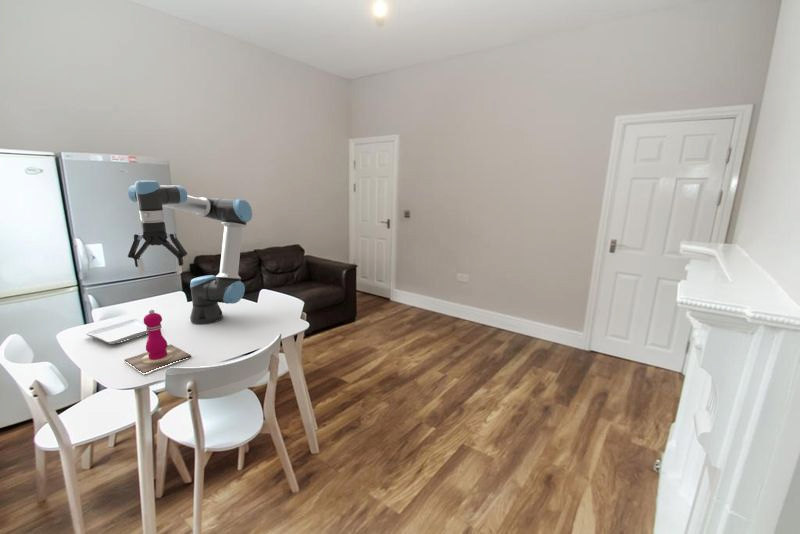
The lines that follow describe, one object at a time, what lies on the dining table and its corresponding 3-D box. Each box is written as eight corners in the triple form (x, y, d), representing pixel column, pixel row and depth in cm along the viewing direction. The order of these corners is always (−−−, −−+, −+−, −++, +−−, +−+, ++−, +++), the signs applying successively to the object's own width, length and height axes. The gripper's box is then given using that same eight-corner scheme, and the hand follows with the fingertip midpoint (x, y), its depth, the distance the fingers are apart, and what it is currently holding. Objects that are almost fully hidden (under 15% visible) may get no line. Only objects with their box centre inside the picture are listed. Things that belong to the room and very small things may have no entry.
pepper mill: (152, 362, 136) (145, 314, 132) (143, 357, 140) (136, 310, 136) (172, 355, 142) (166, 309, 138) (163, 350, 146) (157, 305, 142)
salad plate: (136, 323, 177) (135, 317, 177) (161, 332, 168) (160, 325, 168) (85, 339, 159) (83, 332, 158) (110, 349, 150) (109, 342, 149)
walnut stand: (124, 362, 139) (124, 358, 139) (171, 346, 153) (170, 343, 153) (143, 375, 130) (143, 371, 130) (191, 357, 144) (190, 354, 144)
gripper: (110, 222, 129) (120, 277, 134) (184, 222, 134) (191, 275, 139) (121, 220, 136) (131, 272, 141) (191, 220, 141) (198, 270, 146)
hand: (161, 274), depth 140 cm, fingers open, 13 cm apart
